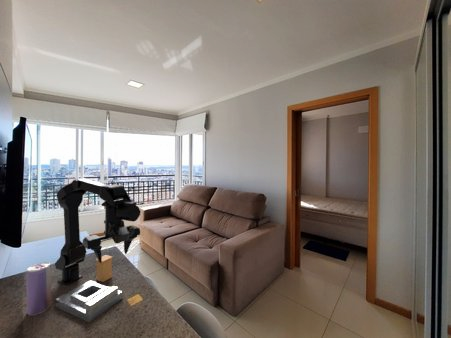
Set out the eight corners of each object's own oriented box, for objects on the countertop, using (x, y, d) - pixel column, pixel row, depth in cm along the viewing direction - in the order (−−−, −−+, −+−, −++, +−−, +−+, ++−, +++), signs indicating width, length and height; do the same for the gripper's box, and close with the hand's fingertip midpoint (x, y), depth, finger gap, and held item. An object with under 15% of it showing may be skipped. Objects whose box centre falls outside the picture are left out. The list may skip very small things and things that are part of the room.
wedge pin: (95, 280, 83) (95, 259, 83) (105, 274, 87) (105, 254, 87) (102, 282, 81) (102, 261, 81) (112, 276, 85) (112, 256, 85)
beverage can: (36, 318, 62) (35, 272, 62) (22, 315, 63) (21, 270, 63) (55, 304, 68) (55, 263, 68) (42, 302, 69) (41, 261, 69)
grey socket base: (55, 306, 67) (55, 293, 67) (90, 286, 79) (90, 275, 78) (88, 322, 61) (88, 308, 61) (122, 298, 72) (122, 286, 72)
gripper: (93, 228, 62) (93, 276, 62) (147, 217, 77) (147, 255, 77) (82, 221, 69) (82, 264, 69) (133, 212, 83) (133, 247, 84)
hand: (113, 257), depth 75 cm, fingers open, 9 cm apart
